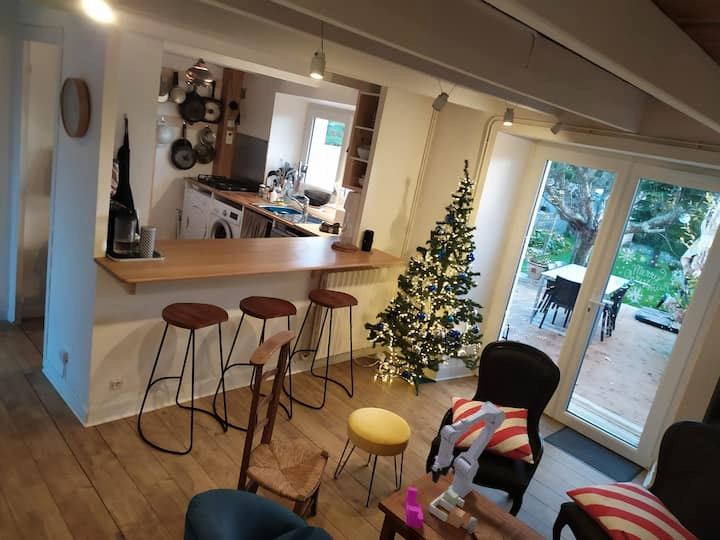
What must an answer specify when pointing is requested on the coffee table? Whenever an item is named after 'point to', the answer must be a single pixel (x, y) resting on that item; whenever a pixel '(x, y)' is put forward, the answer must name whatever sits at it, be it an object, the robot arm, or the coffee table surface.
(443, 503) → the rack
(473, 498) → the coffee table surface
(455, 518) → the handled block
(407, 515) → the toy block
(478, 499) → the coffee table surface
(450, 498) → the green block
